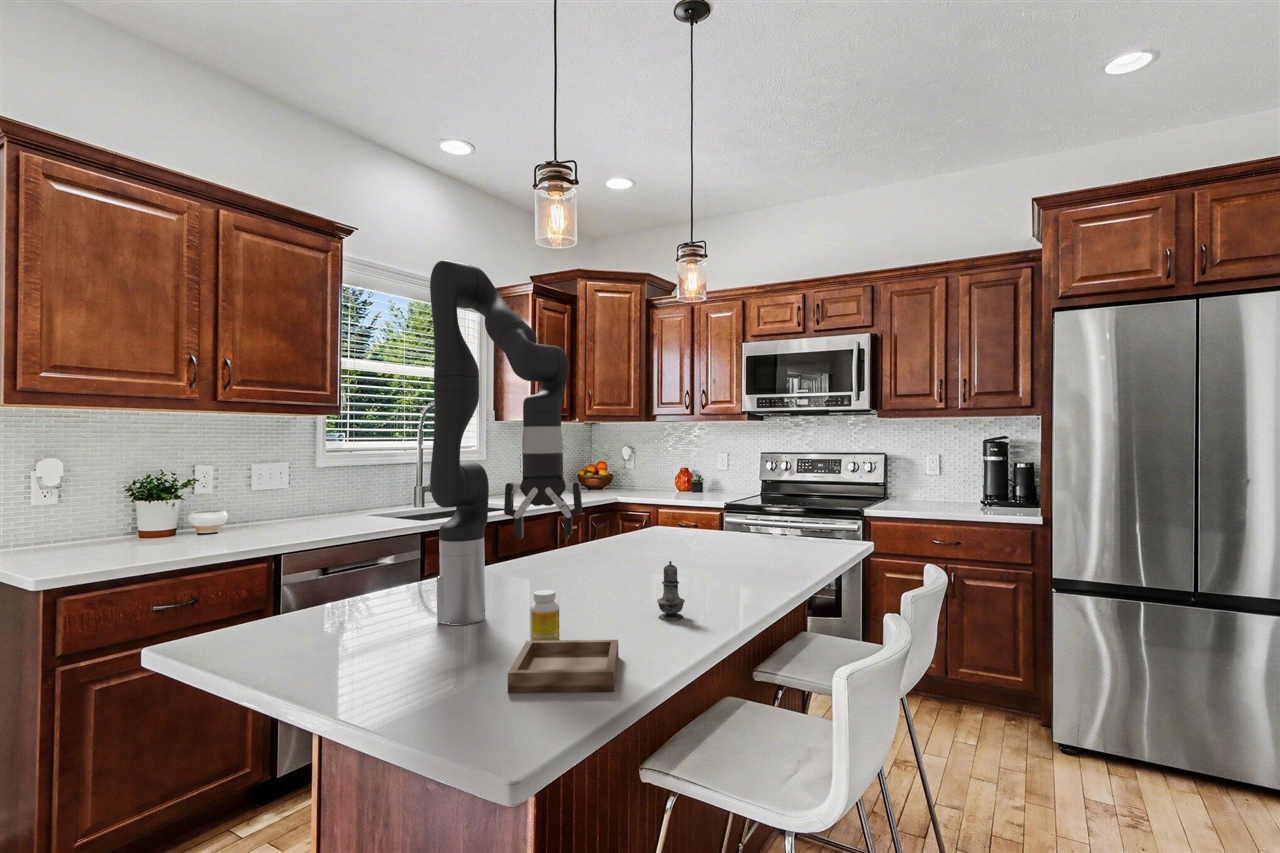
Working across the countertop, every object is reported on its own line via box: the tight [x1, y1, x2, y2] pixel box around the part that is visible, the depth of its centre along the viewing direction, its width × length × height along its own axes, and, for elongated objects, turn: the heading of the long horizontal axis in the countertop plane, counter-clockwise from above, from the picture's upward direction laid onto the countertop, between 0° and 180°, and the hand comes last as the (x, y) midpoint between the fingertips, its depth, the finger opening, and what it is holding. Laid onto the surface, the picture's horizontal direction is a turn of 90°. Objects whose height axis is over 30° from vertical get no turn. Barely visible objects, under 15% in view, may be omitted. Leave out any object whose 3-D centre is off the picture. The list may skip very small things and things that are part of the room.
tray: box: [507, 639, 619, 694], centre depth 111 cm, size 16×16×3 cm
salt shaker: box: [656, 560, 686, 622], centre depth 143 cm, size 6×6×12 cm
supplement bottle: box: [529, 589, 560, 641], centre depth 127 cm, size 5×5×10 cm
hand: (543, 538), depth 127 cm, fingers open, 8 cm apart
